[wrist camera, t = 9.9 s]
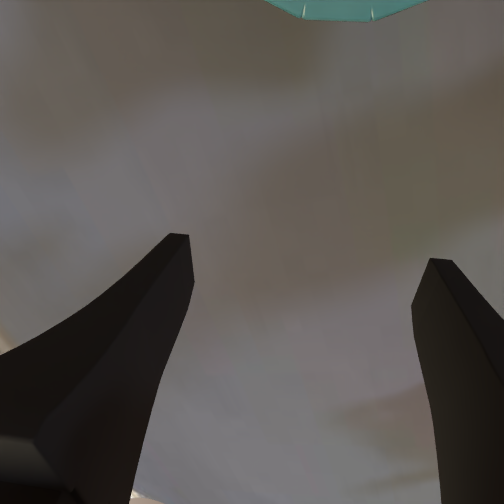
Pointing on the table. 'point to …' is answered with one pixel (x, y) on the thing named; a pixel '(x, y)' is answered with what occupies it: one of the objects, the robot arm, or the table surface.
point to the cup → (343, 9)
